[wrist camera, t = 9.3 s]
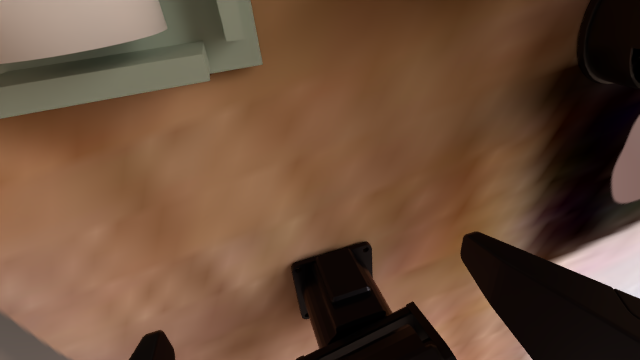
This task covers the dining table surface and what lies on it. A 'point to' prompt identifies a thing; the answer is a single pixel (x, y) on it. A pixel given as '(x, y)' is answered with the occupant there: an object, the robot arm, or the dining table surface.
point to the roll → (73, 26)
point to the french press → (611, 42)
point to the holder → (138, 60)
